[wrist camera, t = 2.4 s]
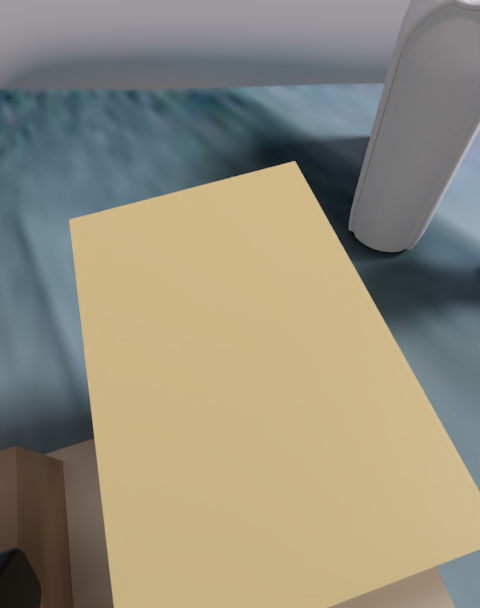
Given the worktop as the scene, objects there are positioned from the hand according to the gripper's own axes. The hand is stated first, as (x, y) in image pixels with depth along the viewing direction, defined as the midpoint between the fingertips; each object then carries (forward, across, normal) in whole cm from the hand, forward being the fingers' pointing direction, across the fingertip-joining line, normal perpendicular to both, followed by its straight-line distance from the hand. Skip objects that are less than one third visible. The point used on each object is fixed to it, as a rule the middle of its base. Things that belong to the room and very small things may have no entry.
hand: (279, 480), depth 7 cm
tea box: (+8, 0, +5) cm, 9 cm away
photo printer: (+17, -13, -2) cm, 21 cm away
